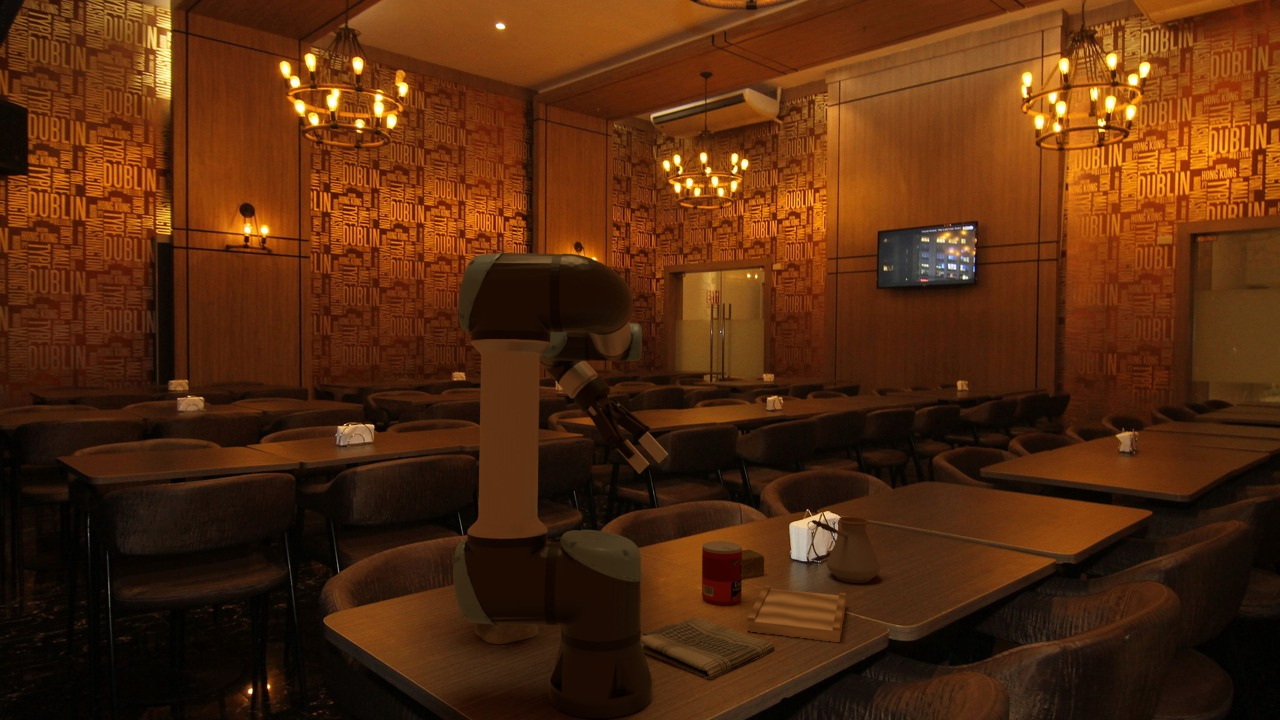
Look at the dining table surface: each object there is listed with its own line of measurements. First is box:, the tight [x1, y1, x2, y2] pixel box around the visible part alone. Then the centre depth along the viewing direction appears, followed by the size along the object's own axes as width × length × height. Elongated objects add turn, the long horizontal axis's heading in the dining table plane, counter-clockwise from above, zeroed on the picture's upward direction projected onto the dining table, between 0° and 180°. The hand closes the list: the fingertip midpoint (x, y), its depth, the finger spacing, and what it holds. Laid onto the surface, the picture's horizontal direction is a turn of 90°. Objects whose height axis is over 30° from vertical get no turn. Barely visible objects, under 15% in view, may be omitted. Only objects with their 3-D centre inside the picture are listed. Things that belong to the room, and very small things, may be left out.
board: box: [746, 584, 847, 643], centre depth 147 cm, size 20×16×3 cm
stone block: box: [742, 549, 765, 580], centre depth 175 cm, size 6×12×5 cm, turn 120°
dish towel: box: [641, 617, 776, 680], centre depth 132 cm, size 19×18×3 cm
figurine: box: [474, 623, 539, 645], centre depth 139 cm, size 10×14×25 cm
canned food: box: [701, 540, 743, 607], centre depth 158 cm, size 8×8×11 cm
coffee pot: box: [807, 516, 881, 584], centre depth 170 cm, size 21×12×15 cm, turn 131°
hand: (654, 463), depth 159 cm, fingers open, 13 cm apart
